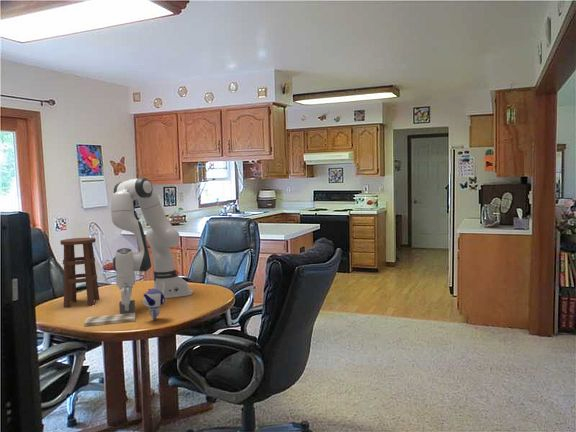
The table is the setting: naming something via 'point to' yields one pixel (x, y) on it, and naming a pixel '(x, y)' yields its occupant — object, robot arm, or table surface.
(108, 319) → the board
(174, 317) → the table surface
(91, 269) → the stool
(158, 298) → the toy
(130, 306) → the block
